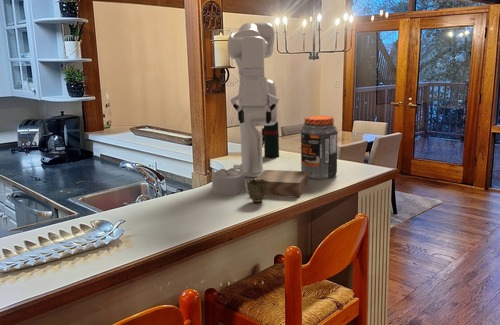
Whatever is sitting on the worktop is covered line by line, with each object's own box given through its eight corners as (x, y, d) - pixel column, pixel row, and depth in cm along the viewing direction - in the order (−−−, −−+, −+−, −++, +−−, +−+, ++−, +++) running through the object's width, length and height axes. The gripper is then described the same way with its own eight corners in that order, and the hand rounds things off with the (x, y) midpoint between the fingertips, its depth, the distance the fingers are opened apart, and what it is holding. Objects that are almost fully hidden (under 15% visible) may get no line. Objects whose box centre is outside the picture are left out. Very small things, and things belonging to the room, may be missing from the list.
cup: (260, 206, 163) (260, 184, 161) (243, 203, 167) (242, 182, 165) (271, 200, 169) (270, 179, 168) (254, 198, 173) (253, 177, 171)
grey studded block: (235, 196, 177) (235, 174, 175) (207, 193, 182) (205, 172, 180) (247, 189, 186) (247, 168, 184) (220, 186, 191) (219, 166, 189)
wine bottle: (264, 154, 252) (263, 99, 246) (281, 155, 247) (280, 99, 241) (258, 157, 245) (256, 101, 239) (275, 158, 241) (274, 101, 234)
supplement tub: (294, 174, 207) (293, 117, 201) (322, 169, 214) (323, 114, 208) (314, 181, 193) (314, 120, 187) (344, 176, 200) (345, 117, 194)
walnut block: (253, 195, 178) (253, 180, 177) (266, 183, 195) (266, 169, 193) (299, 198, 172) (299, 183, 171) (308, 185, 189) (308, 171, 188)
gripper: (226, 74, 157) (228, 124, 161) (275, 73, 152) (276, 124, 156) (233, 73, 164) (235, 121, 168) (280, 72, 159) (281, 121, 163)
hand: (255, 122), depth 162 cm, fingers open, 9 cm apart
